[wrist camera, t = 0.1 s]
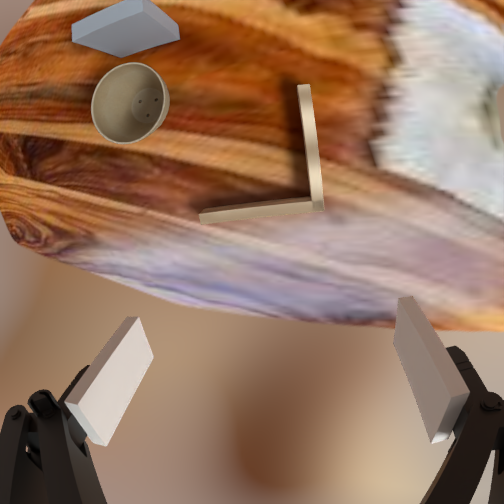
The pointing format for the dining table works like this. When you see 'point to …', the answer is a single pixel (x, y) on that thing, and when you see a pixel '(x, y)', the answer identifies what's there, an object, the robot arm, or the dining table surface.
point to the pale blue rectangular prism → (126, 28)
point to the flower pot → (129, 103)
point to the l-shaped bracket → (291, 204)
